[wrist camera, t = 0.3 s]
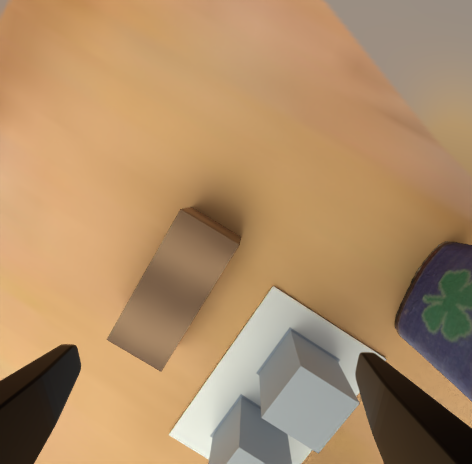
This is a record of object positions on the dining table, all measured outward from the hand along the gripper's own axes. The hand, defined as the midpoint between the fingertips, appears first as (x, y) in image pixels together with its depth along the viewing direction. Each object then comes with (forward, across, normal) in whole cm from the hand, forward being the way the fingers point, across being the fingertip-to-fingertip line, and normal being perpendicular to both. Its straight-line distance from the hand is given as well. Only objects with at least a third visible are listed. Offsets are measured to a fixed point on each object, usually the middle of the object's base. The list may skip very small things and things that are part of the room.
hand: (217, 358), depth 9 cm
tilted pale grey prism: (+12, -6, +13) cm, 19 cm away
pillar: (+11, -2, +20) cm, 22 cm away
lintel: (+15, +4, +6) cm, 16 cm away
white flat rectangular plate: (+12, -4, +16) cm, 20 cm away
